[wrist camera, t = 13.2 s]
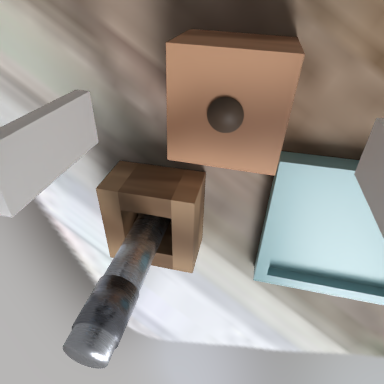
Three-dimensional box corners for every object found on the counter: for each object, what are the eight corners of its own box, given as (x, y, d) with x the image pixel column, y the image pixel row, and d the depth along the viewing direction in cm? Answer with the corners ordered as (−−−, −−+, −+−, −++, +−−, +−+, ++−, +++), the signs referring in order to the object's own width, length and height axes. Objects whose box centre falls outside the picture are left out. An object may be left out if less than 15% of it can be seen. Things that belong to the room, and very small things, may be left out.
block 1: (120, 160, 23) (95, 188, 20) (205, 172, 22) (194, 203, 19) (129, 225, 28) (110, 257, 24) (202, 238, 26) (192, 273, 23)
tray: (279, 150, 20) (279, 161, 19) (480, 174, 18) (495, 188, 17) (254, 266, 27) (253, 280, 26) (396, 293, 25) (402, 308, 24)
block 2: (190, 28, 17) (165, 42, 13) (297, 36, 16) (305, 54, 12) (188, 125, 21) (166, 160, 17) (274, 136, 20) (275, 176, 16)
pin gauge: (147, 186, 24) (55, 336, 14) (177, 190, 24) (105, 349, 14) (149, 210, 26) (67, 361, 16) (177, 215, 25) (113, 373, 15)
